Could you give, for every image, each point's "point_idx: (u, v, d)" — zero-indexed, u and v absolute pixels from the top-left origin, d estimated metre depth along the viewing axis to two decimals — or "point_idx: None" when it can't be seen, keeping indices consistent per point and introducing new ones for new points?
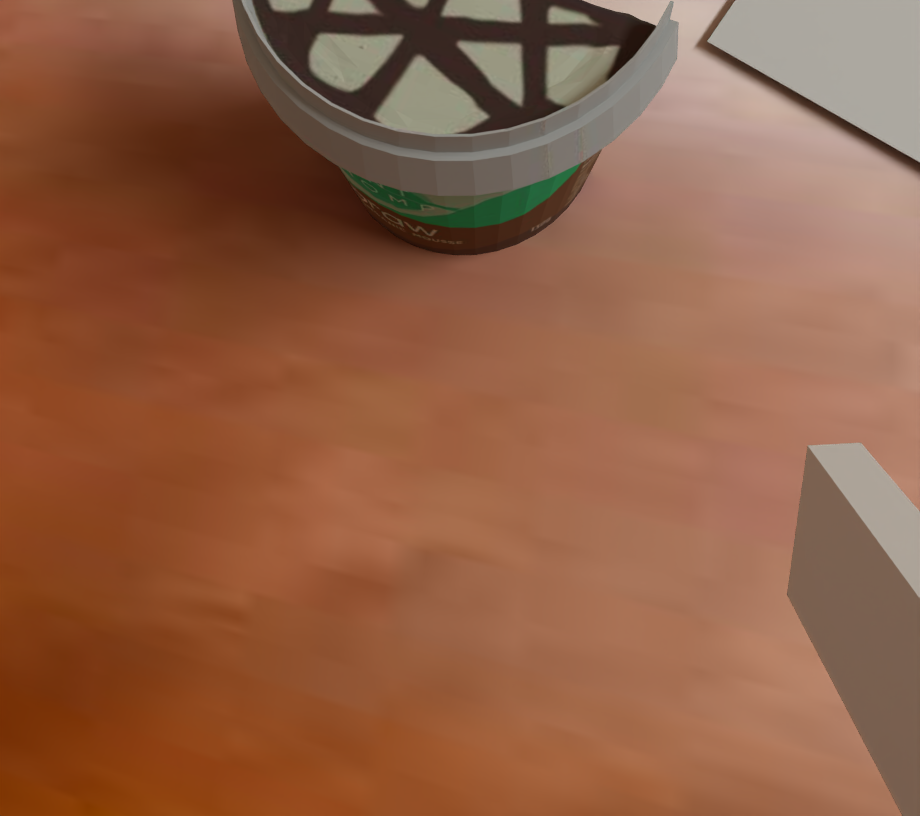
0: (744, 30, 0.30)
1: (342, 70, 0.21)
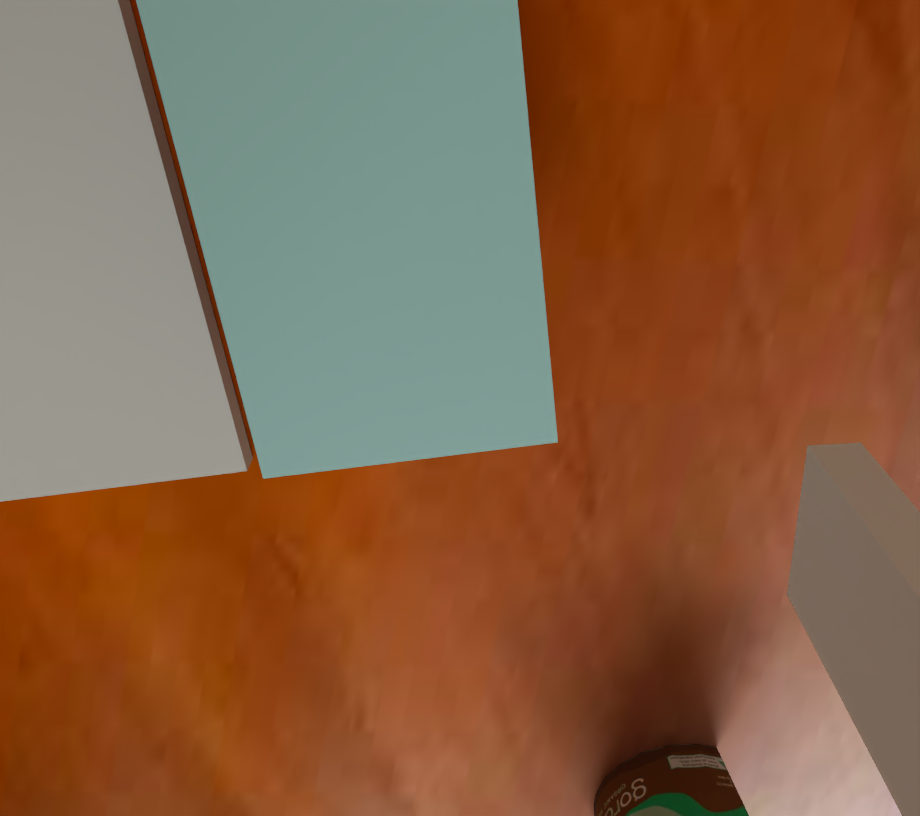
0: None
1: None
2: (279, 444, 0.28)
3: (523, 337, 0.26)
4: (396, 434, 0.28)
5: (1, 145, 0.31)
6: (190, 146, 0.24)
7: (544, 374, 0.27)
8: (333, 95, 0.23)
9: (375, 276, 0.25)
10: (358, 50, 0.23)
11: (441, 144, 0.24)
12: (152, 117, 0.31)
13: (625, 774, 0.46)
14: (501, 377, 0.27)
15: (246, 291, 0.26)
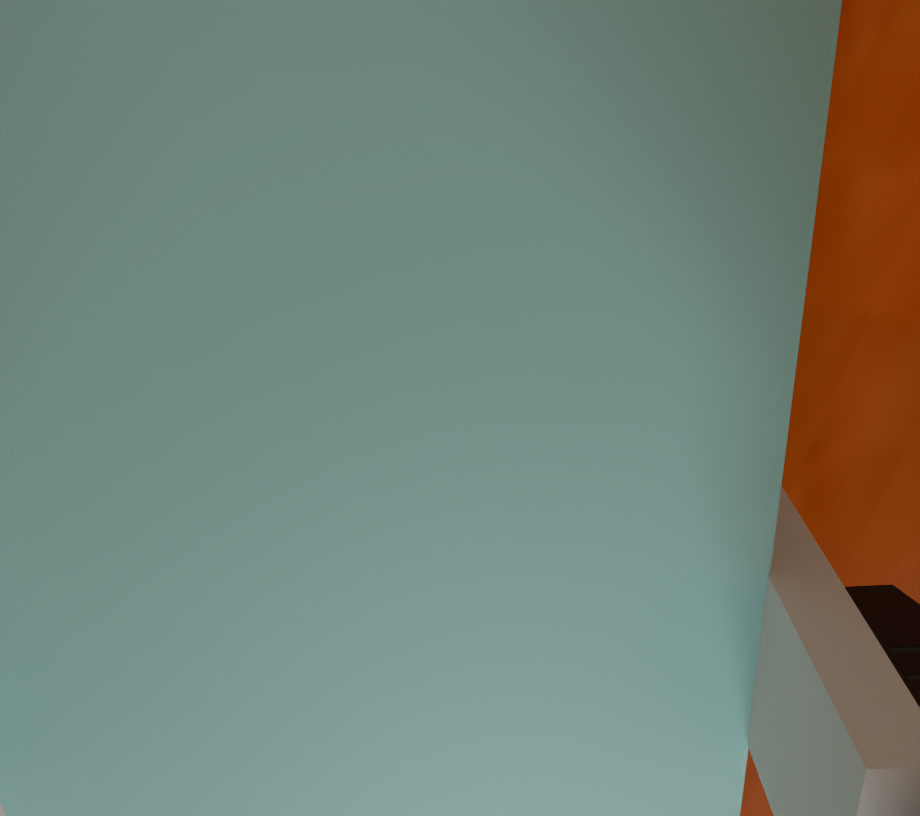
0: None
1: None
2: None
3: None
4: None
5: None
6: None
7: None
8: (283, 462, 0.09)
9: (365, 797, 0.11)
10: (354, 368, 0.08)
11: (548, 576, 0.10)
12: None
13: None
14: None
15: (74, 805, 0.11)
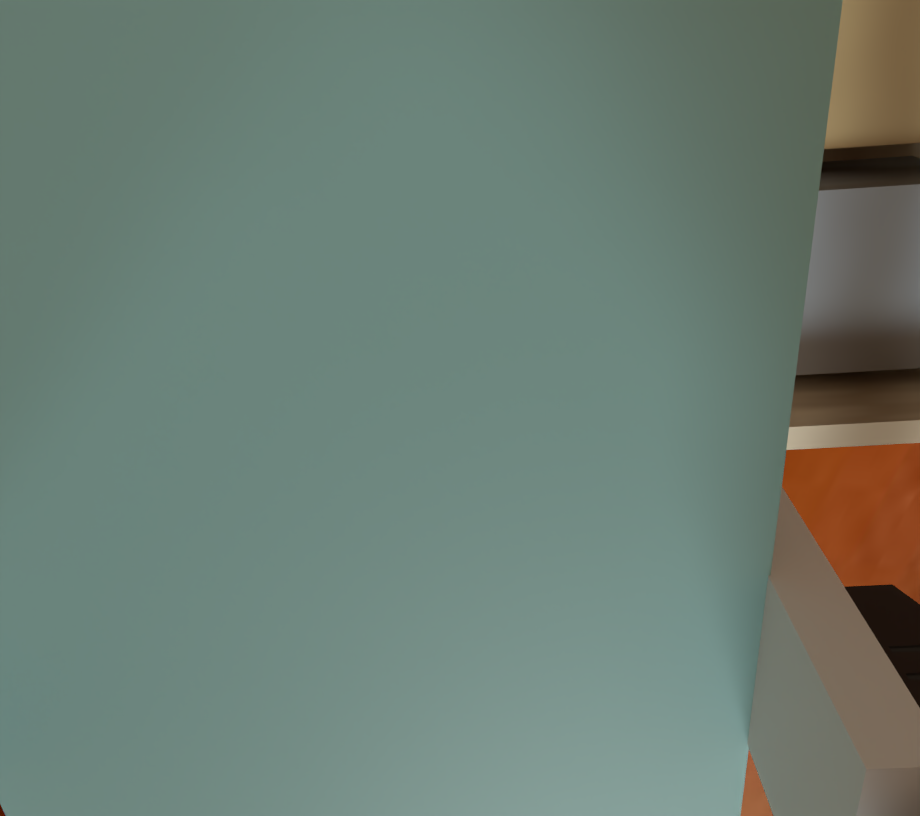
0: None
1: None
2: None
3: None
4: None
5: None
6: None
7: None
8: (282, 460, 0.09)
9: (366, 796, 0.11)
10: (353, 365, 0.08)
11: (548, 574, 0.10)
12: None
13: None
14: None
15: (73, 804, 0.11)
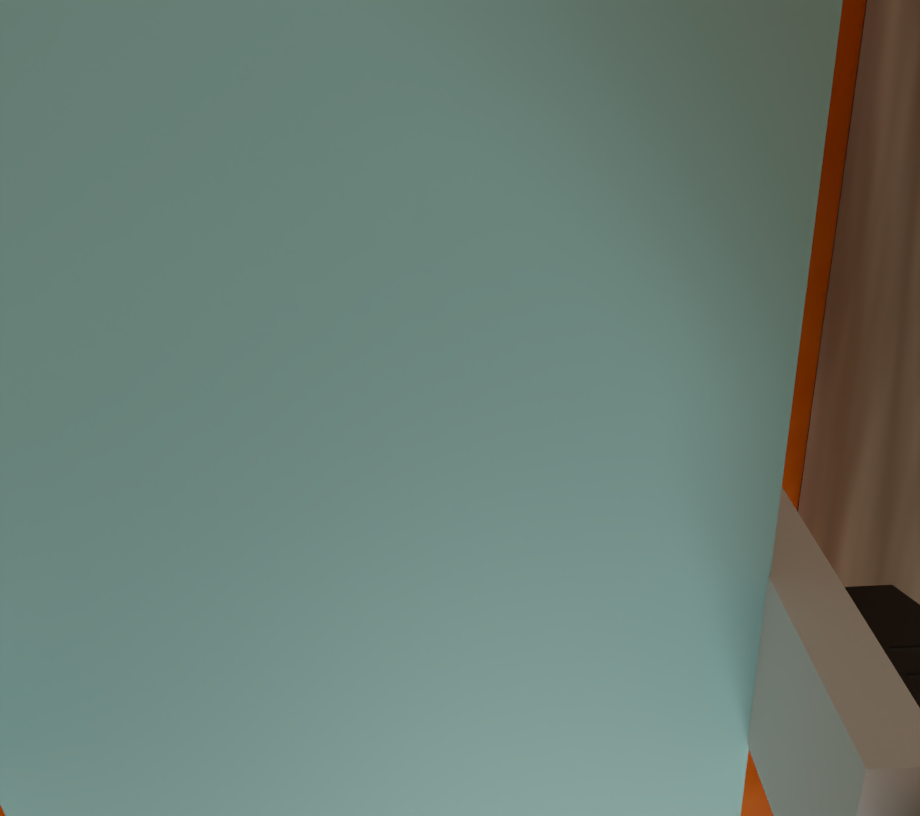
0: None
1: None
2: None
3: None
4: None
5: None
6: None
7: None
8: (282, 459, 0.09)
9: (366, 795, 0.11)
10: (353, 364, 0.08)
11: (548, 573, 0.10)
12: None
13: None
14: None
15: (72, 804, 0.11)
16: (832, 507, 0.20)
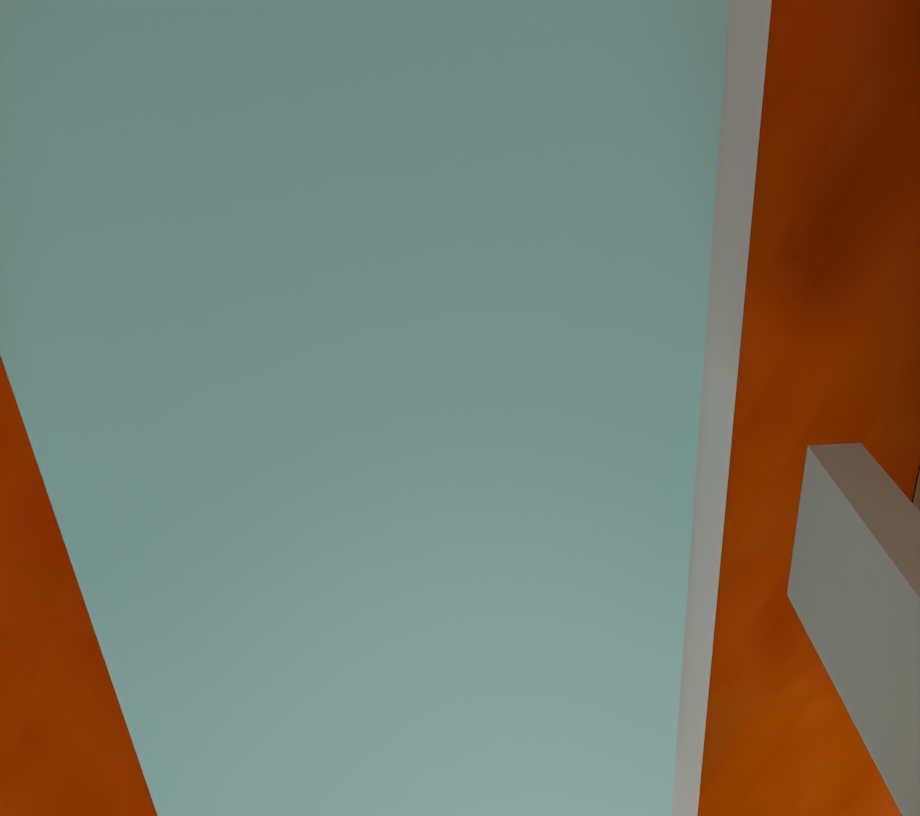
0: None
1: None
2: None
3: (634, 726, 0.15)
4: None
5: None
6: (49, 410, 0.12)
7: (662, 776, 0.16)
8: (328, 341, 0.12)
9: (386, 628, 0.14)
10: (382, 266, 0.11)
11: (528, 435, 0.12)
12: (751, 172, 0.13)
13: None
14: (588, 776, 0.16)
15: (154, 635, 0.14)
16: None
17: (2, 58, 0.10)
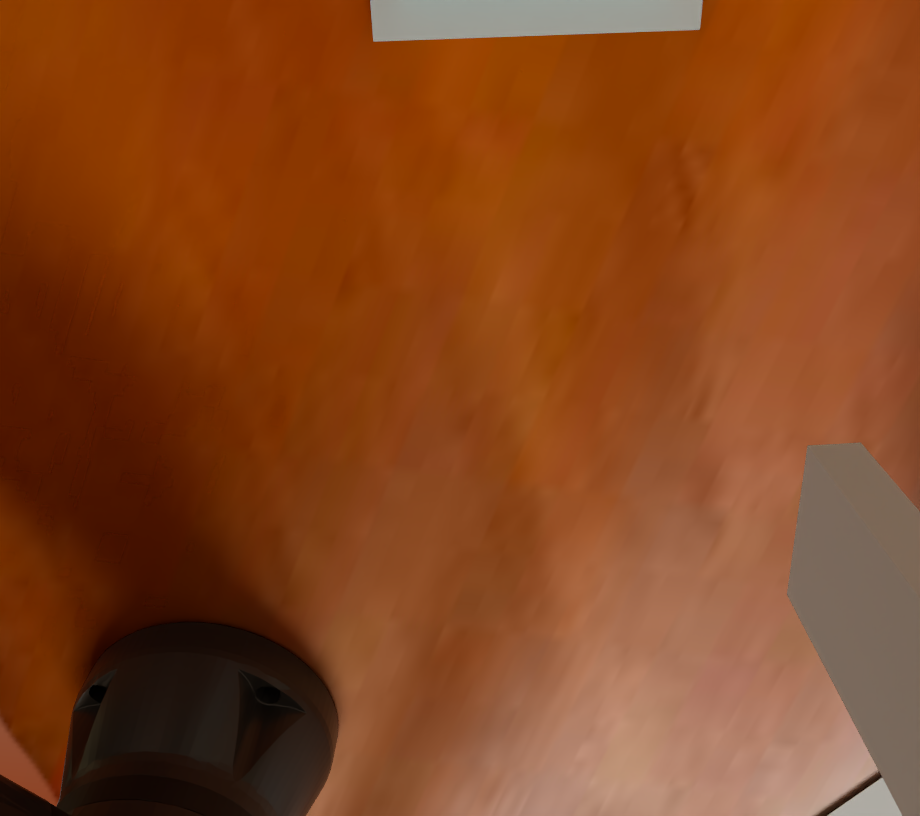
0: None
1: None
2: None
3: None
4: None
5: None
6: None
7: None
8: None
9: None
10: None
11: None
12: None
13: None
14: None
15: None
16: None
17: None
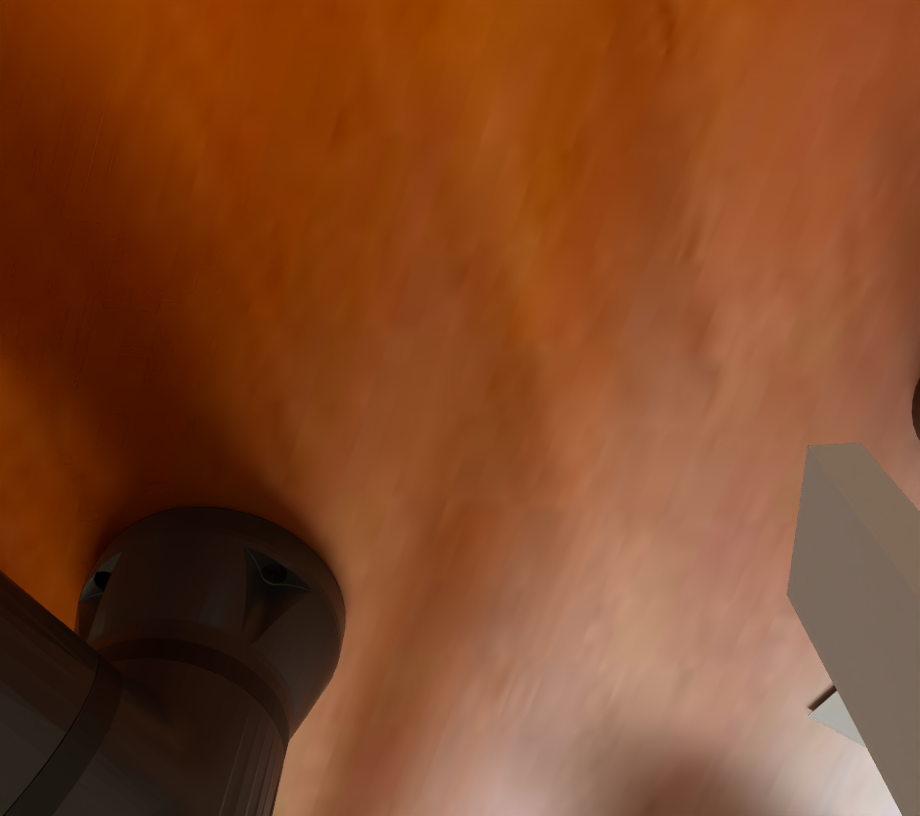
0: None
1: None
2: None
3: None
4: None
5: None
6: None
7: None
8: None
9: None
10: None
11: None
12: None
13: None
14: None
15: None
16: None
17: None
